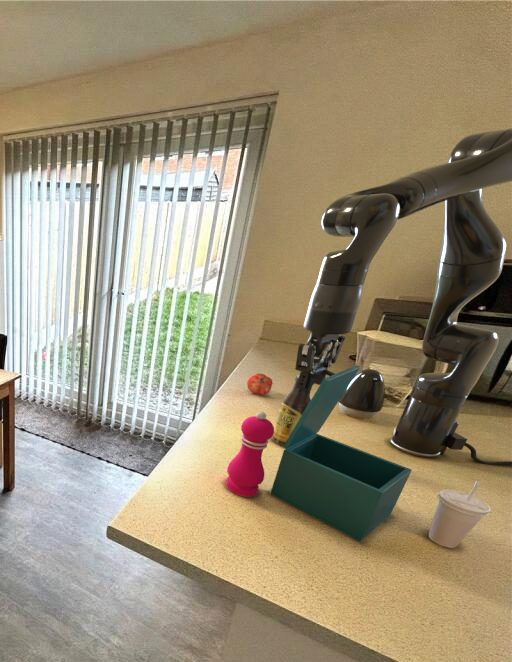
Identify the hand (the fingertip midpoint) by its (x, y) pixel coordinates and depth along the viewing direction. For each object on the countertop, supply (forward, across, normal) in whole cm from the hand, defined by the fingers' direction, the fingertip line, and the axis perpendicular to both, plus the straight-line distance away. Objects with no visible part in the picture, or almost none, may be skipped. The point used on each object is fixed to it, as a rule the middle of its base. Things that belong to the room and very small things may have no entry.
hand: (309, 385), depth 83 cm
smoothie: (+26, +7, -25) cm, 37 cm away
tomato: (+24, +46, +31) cm, 61 cm away
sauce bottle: (+25, +19, +9) cm, 32 cm away
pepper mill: (+25, -10, +4) cm, 27 cm away
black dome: (+25, +54, +6) cm, 60 cm away
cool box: (+25, 0, -9) cm, 27 cm away
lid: (+4, 0, -3) cm, 5 cm away
